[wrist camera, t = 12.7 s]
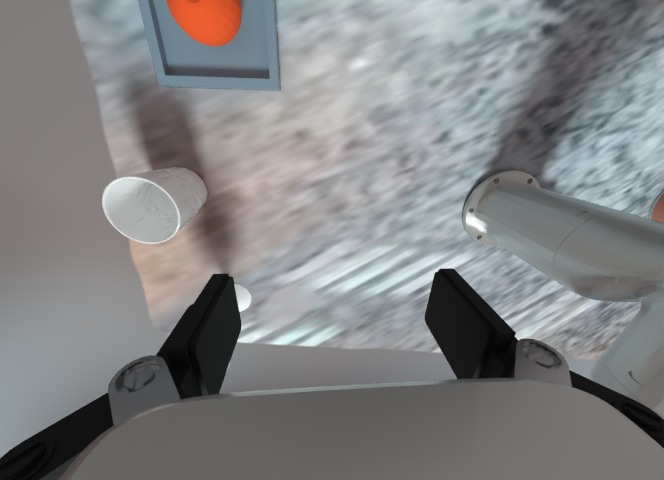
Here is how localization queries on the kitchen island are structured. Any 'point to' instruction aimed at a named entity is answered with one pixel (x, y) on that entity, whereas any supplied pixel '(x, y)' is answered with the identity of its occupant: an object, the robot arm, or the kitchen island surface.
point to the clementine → (208, 19)
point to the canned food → (658, 209)
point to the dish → (215, 50)
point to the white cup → (154, 203)
